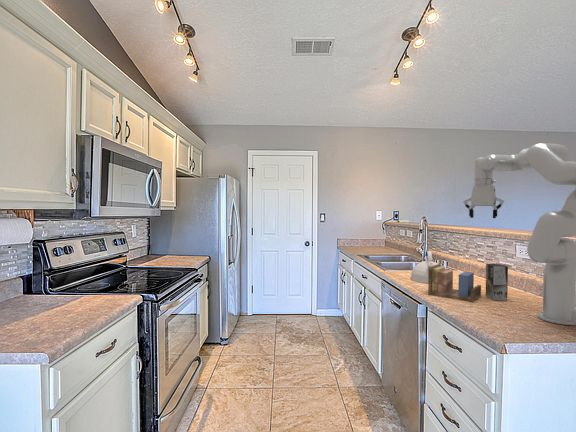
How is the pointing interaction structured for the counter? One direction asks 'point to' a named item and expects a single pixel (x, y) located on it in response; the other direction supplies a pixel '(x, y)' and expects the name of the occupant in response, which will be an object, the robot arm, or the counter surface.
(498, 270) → the coffee box
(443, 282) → the book rack
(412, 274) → the kettle
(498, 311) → the counter surface
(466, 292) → the navy book
